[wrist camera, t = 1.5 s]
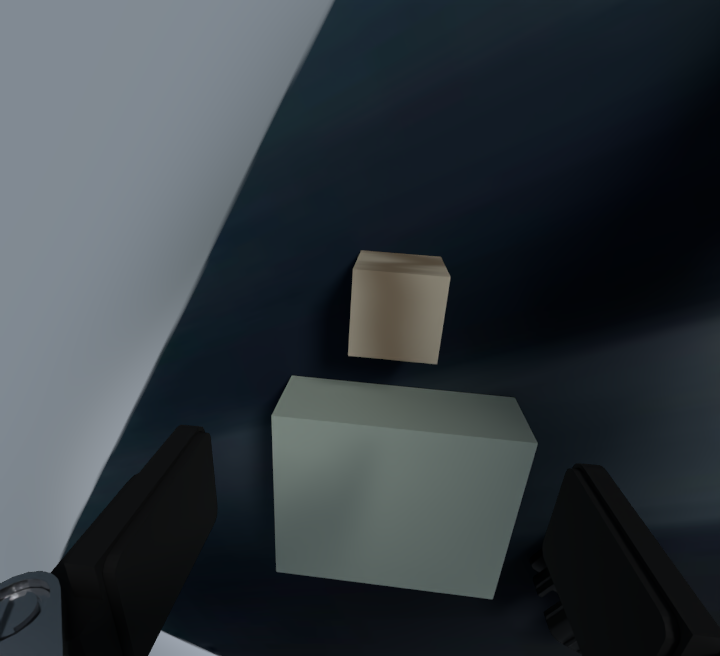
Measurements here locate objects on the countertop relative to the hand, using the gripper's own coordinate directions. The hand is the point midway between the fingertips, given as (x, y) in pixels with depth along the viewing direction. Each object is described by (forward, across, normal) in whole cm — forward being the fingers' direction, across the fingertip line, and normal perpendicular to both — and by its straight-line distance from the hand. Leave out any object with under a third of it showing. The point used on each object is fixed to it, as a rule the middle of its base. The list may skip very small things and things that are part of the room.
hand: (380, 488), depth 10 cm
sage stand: (+17, -2, +14) cm, 22 cm away
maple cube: (+17, -1, 0) cm, 17 cm away
